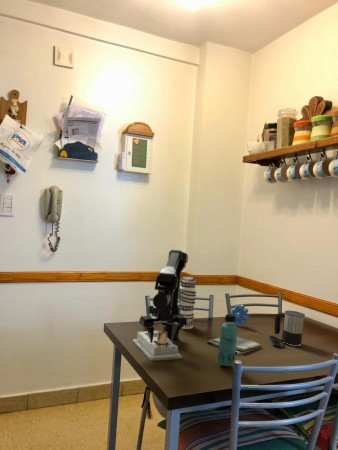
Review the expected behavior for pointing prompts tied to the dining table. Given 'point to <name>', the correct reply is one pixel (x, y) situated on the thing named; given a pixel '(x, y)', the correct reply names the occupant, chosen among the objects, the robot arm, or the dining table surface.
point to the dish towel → (238, 345)
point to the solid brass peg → (162, 338)
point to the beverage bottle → (228, 341)
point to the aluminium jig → (156, 347)
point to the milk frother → (289, 328)
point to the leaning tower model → (187, 300)
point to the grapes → (240, 314)
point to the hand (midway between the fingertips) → (161, 341)
